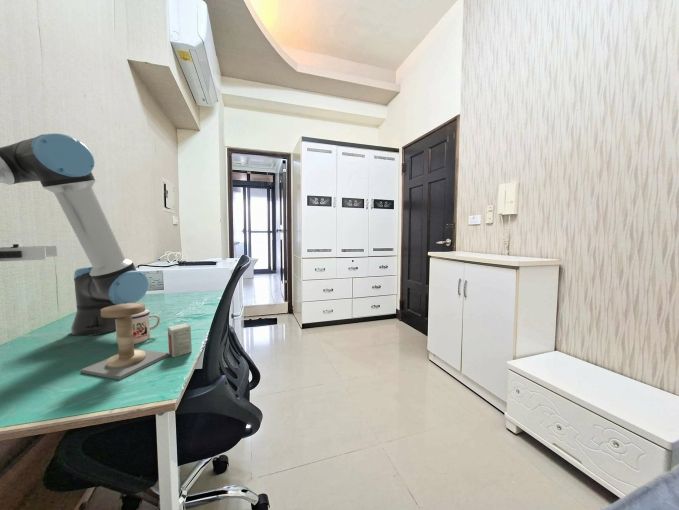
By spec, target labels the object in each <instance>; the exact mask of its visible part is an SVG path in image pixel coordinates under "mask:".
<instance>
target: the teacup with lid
mask: <svg viewBox="0 0 679 510" xmlns="http://www.w3.org/2000/svg"><path fill="white" fill-rule="evenodd" d="M150 318H157V322H156V324H155V325H154V326H152V327H151V326H150ZM114 319H115V323H116V330H115V335H116V336H115V338H116V343H117V345H118V336H117V321H116V318H114ZM132 324H133V340H134V345H135V344H136V345H137V344H140V343H142V342H146V341H147V340H149V339H150V338H151V331H153V330H155V329H157V328H158V327H159V325H160V324H161V318H160V316H159V315H158V314H150V310H149V309H146V308H145V311H144V312H141V313H138V314H135V315H132Z"/></svg>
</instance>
